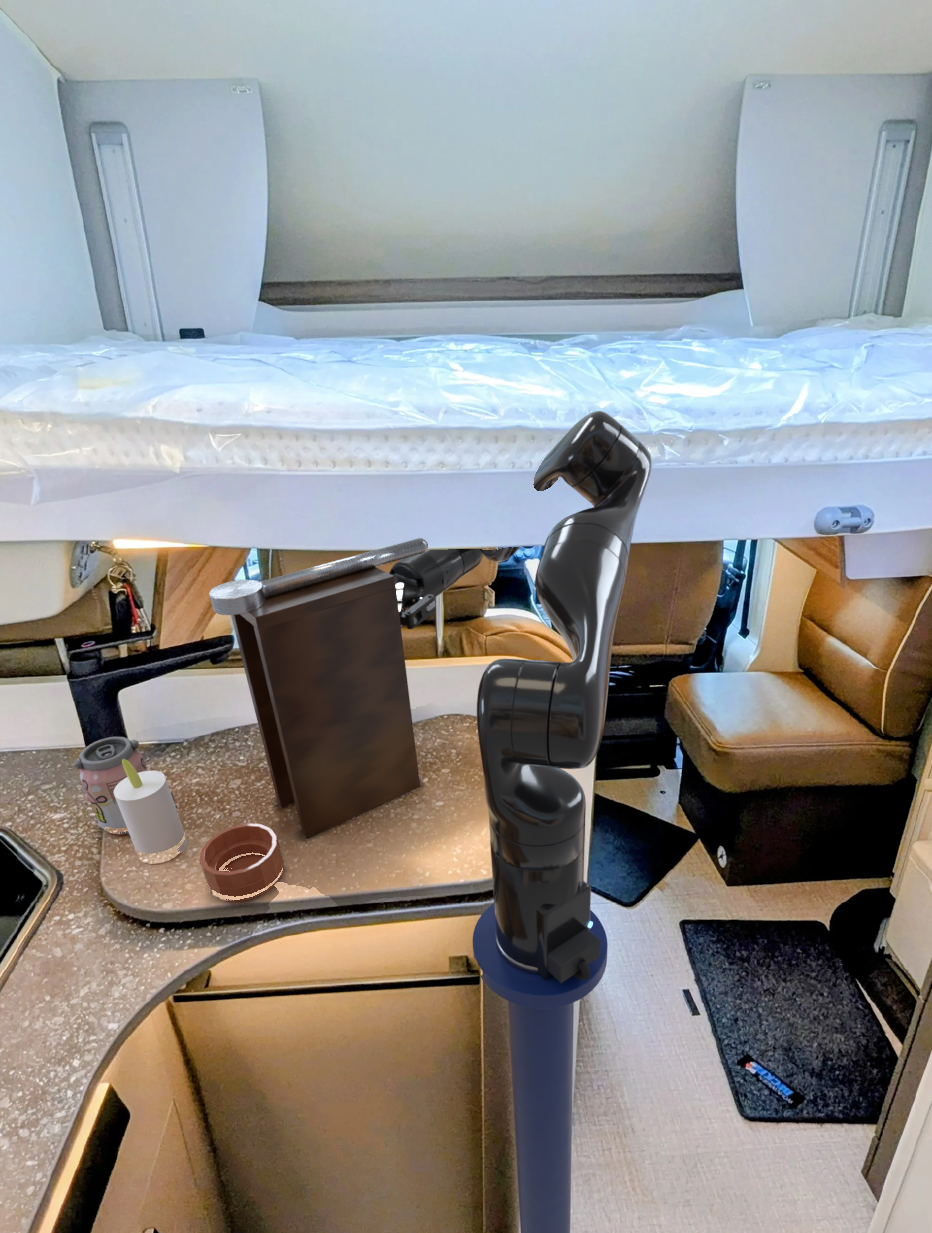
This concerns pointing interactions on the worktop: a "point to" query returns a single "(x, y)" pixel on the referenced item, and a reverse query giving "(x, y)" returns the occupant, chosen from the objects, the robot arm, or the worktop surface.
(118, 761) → the beverage can
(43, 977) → the worktop surface
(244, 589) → the ladle
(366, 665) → the shelf
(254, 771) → the worktop surface
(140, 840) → the candle
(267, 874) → the bowl
